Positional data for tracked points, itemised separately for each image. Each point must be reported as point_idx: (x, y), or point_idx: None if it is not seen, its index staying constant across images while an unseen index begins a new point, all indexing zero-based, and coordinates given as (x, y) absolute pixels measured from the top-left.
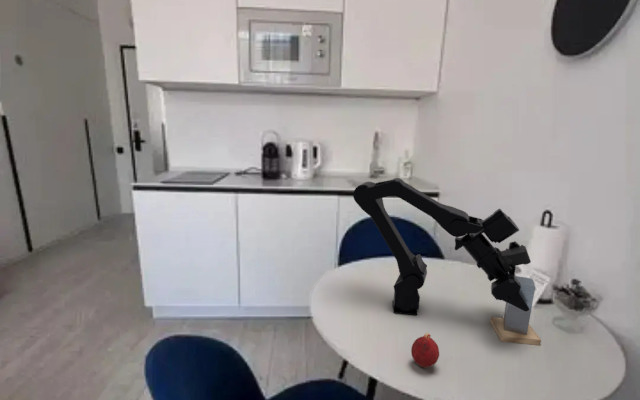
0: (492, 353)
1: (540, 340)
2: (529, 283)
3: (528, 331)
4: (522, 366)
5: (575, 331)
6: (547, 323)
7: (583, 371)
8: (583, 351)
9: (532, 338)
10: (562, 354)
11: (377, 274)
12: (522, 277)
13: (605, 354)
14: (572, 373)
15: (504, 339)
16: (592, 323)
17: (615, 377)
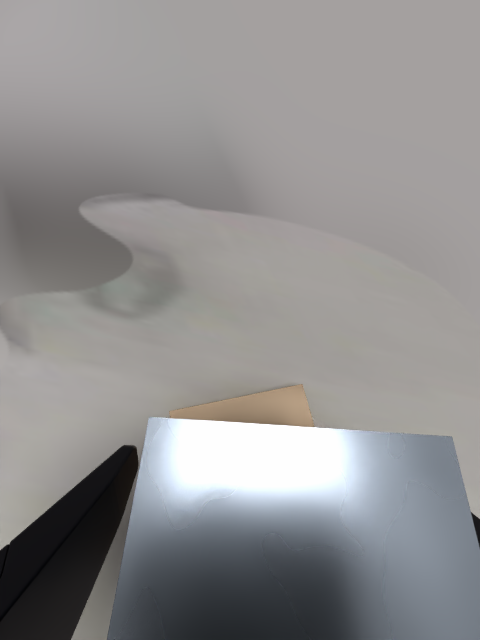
0: None
1: (302, 386)
2: (371, 509)
3: (260, 419)
4: (465, 474)
5: (166, 268)
6: (137, 332)
7: (375, 303)
8: (272, 278)
9: (306, 413)
10: (317, 333)
11: None
12: (133, 601)
13: (263, 236)
14: (403, 331)
15: None
16: (107, 219)
17: (358, 246)
